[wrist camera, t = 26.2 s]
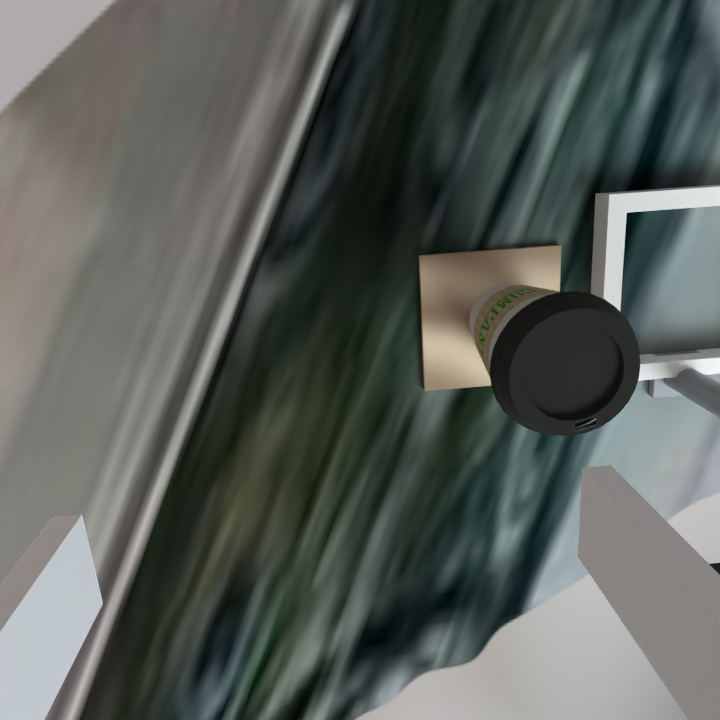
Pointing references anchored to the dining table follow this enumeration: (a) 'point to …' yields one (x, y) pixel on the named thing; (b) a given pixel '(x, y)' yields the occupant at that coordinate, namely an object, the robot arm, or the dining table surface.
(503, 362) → the coffee cup
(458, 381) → the cork pad
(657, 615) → the robot arm
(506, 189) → the dining table surface
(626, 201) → the white square frame
